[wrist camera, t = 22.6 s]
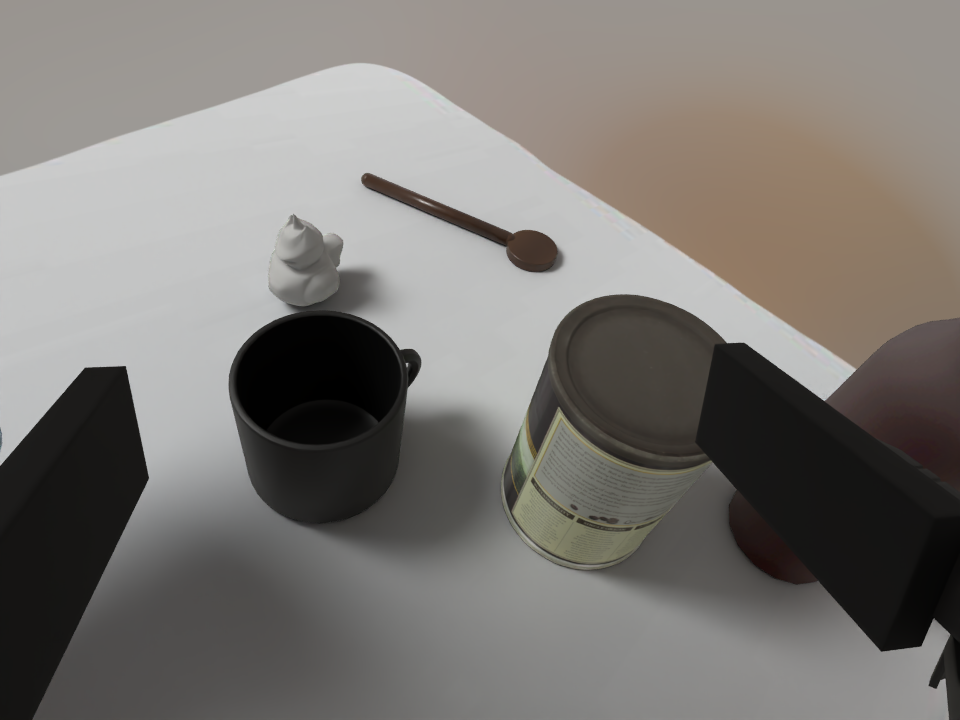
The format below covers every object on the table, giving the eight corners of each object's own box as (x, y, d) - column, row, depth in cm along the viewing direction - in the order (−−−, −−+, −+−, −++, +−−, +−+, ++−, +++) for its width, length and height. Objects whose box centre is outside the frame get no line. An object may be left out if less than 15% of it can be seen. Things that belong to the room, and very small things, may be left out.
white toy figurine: (251, 291, 50) (237, 208, 44) (316, 251, 53) (312, 169, 47) (301, 330, 48) (294, 250, 42) (364, 286, 52) (366, 206, 46)
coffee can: (474, 452, 44) (516, 313, 33) (602, 414, 48) (678, 278, 37) (541, 596, 39) (617, 488, 28) (679, 541, 43) (794, 426, 32)
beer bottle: (843, 519, 46) (1361, 149, 22) (820, 610, 41) (1438, 267, 18) (743, 461, 47) (1128, 61, 24) (711, 544, 43) (1145, 150, 20)
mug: (457, 450, 44) (478, 370, 37) (301, 557, 38) (291, 485, 31) (374, 359, 48) (378, 270, 41) (219, 443, 42) (193, 356, 35)
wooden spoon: (349, 195, 58) (349, 184, 57) (374, 170, 61) (374, 159, 60) (545, 279, 56) (548, 269, 55) (561, 249, 58) (565, 239, 57)
